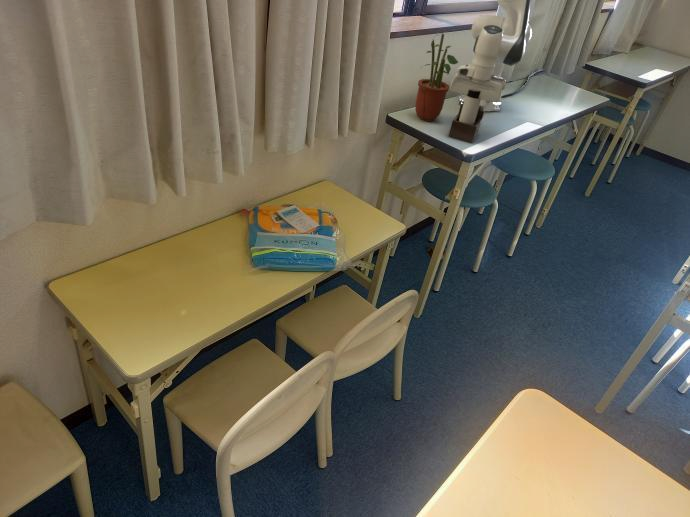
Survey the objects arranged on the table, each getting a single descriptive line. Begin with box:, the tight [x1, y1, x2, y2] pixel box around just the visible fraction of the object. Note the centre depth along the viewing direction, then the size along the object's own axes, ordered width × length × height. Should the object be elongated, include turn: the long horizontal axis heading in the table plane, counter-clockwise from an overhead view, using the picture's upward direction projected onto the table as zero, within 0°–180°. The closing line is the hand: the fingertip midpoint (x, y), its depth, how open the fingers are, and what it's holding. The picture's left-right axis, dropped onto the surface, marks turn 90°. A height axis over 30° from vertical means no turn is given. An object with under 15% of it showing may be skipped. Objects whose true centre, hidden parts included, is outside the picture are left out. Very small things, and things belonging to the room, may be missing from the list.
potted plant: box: [415, 32, 460, 122], centre depth 204 cm, size 17×16×35 cm
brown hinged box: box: [447, 101, 486, 144], centre depth 198 cm, size 11×10×12 cm
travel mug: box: [459, 90, 481, 125], centre depth 196 cm, size 6×7×20 cm
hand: (470, 107), depth 194 cm, fingers open, 8 cm apart
